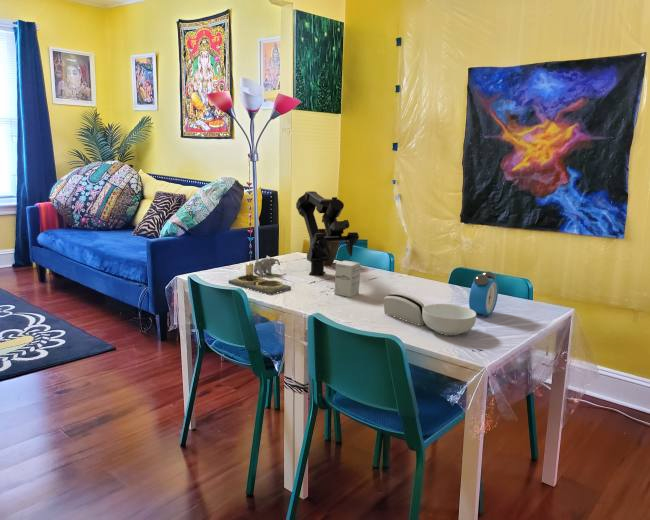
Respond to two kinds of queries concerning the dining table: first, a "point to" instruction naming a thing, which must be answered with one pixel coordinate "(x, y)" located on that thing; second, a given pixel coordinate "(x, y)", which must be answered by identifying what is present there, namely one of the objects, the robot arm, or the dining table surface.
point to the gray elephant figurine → (264, 265)
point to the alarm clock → (483, 294)
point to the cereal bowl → (448, 318)
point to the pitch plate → (258, 282)
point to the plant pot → (331, 249)
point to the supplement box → (347, 278)
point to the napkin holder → (404, 307)
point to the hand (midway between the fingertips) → (340, 256)
